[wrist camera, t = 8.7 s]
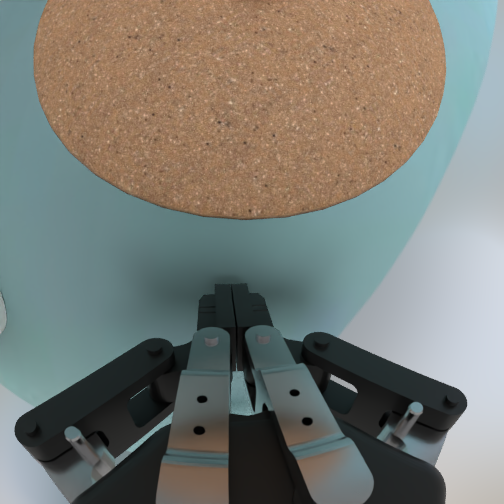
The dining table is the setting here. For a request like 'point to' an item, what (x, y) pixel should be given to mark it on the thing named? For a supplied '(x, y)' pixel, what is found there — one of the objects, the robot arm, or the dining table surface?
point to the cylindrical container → (2, 314)
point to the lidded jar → (240, 97)
